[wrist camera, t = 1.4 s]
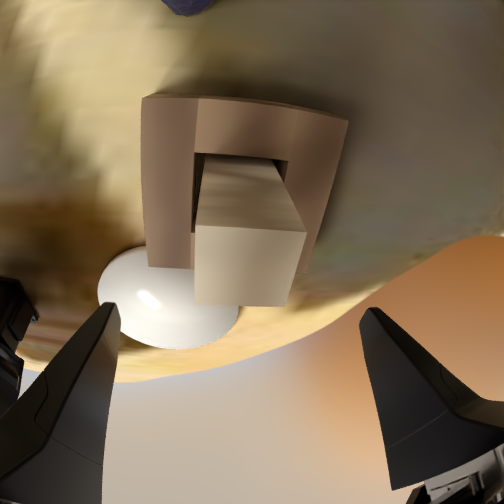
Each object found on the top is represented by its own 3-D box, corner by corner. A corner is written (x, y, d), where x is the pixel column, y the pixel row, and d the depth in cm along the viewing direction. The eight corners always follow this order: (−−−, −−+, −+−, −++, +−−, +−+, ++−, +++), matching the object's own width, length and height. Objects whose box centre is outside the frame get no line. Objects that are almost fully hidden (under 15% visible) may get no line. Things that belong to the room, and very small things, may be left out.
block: (202, 205, 19) (194, 304, 12) (206, 150, 17) (195, 225, 9) (260, 209, 20) (284, 306, 12) (269, 155, 17) (307, 232, 10)
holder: (154, 245, 20) (148, 266, 18) (152, 93, 14) (142, 98, 12) (297, 253, 22) (304, 273, 20) (333, 113, 16) (349, 120, 14)
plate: (115, 337, 27) (114, 343, 26) (86, 241, 19) (82, 247, 19) (231, 345, 29) (232, 351, 29) (246, 249, 22) (247, 255, 21)
